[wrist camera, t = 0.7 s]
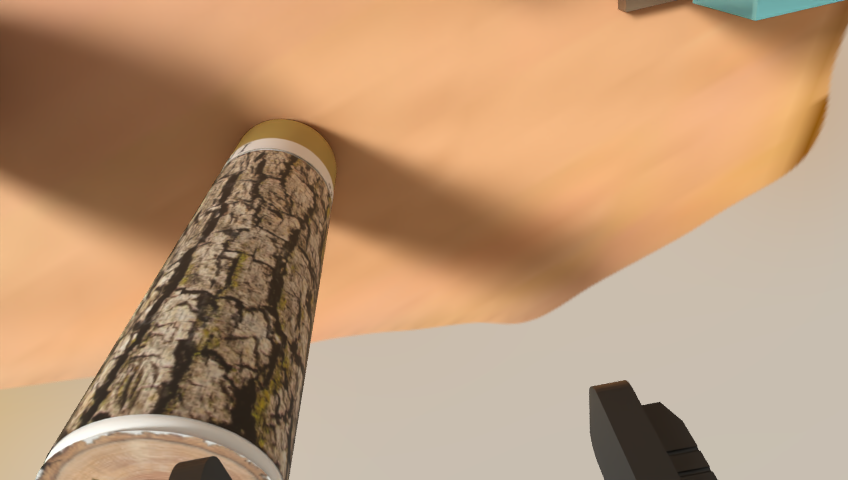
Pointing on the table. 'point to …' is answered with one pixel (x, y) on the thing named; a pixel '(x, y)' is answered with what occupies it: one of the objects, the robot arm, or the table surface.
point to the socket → (761, 6)
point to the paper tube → (217, 328)
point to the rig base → (638, 4)
